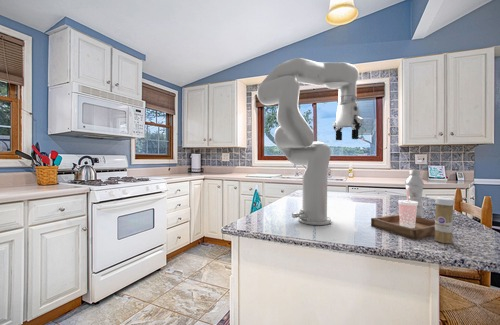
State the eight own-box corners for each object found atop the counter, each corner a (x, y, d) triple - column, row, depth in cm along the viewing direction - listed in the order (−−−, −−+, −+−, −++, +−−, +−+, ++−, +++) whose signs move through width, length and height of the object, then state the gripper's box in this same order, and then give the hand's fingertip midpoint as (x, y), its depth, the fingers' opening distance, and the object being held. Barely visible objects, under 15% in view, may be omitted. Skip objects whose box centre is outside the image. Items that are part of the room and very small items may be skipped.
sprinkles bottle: (433, 241, 78) (434, 198, 77) (434, 237, 81) (436, 196, 81) (452, 245, 75) (454, 199, 74) (453, 241, 78) (454, 197, 78)
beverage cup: (417, 229, 86) (418, 189, 86) (397, 227, 89) (397, 187, 89) (417, 225, 91) (418, 187, 91) (397, 223, 95) (398, 185, 94)
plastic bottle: (426, 220, 103) (427, 171, 102) (407, 219, 104) (409, 170, 103) (419, 216, 109) (420, 170, 108) (401, 215, 110) (402, 169, 110)
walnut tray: (413, 239, 79) (413, 230, 79) (371, 226, 94) (371, 218, 94) (448, 232, 86) (448, 223, 86) (403, 221, 101) (403, 213, 101)
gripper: (369, 98, 107) (368, 138, 107) (339, 105, 123) (339, 140, 123) (355, 96, 104) (355, 138, 105) (327, 104, 120) (327, 140, 120)
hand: (346, 139), depth 114 cm, fingers open, 9 cm apart
